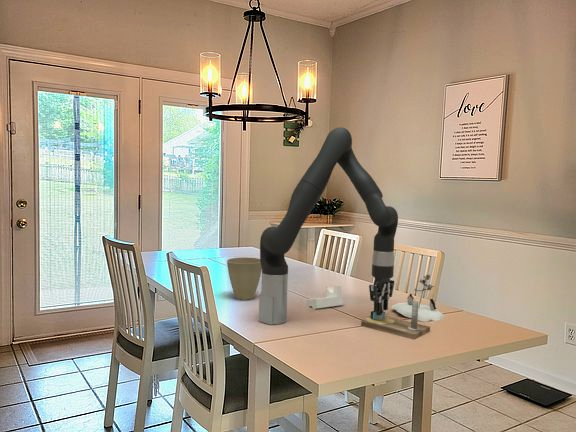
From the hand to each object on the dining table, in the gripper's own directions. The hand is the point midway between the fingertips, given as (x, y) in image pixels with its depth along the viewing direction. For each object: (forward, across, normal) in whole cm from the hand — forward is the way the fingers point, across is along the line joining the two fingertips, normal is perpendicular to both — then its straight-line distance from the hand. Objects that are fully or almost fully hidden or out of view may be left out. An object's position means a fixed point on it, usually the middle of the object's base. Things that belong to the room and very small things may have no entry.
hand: (380, 310), depth 177 cm
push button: (+3, +1, +1) cm, 3 cm away
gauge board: (+5, 0, -6) cm, 8 cm away
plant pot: (+5, -9, +59) cm, 60 cm away
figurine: (+6, +23, -3) cm, 23 cm away
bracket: (+5, +6, +29) cm, 30 cm away
